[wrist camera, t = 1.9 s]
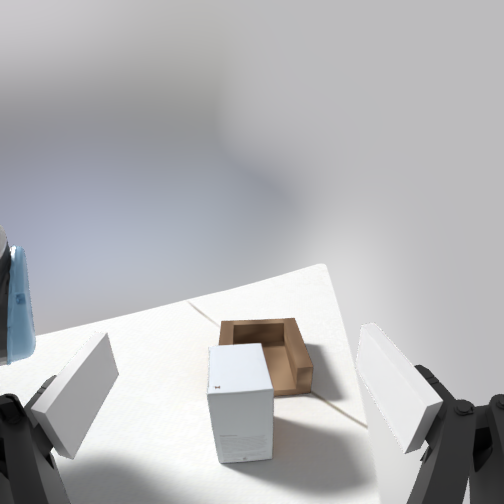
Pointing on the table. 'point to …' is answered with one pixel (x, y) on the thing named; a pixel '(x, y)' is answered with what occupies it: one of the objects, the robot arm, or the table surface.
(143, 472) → the table surface
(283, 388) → the rack
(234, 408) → the small box
